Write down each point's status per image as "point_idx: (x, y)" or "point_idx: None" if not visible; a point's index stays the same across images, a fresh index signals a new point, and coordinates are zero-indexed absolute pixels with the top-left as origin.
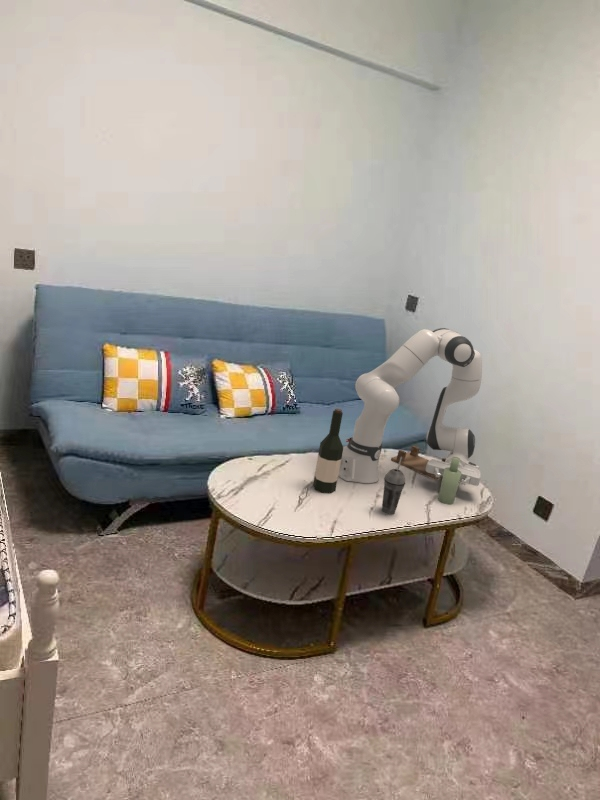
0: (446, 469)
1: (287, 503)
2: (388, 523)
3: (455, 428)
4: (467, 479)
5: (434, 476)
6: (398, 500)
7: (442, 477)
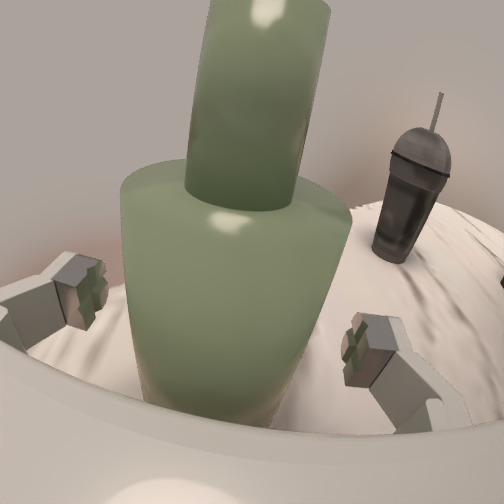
0: (325, 200)
1: (486, 242)
2: (358, 220)
3: None
4: (28, 278)
5: None
6: (382, 206)
7: None
